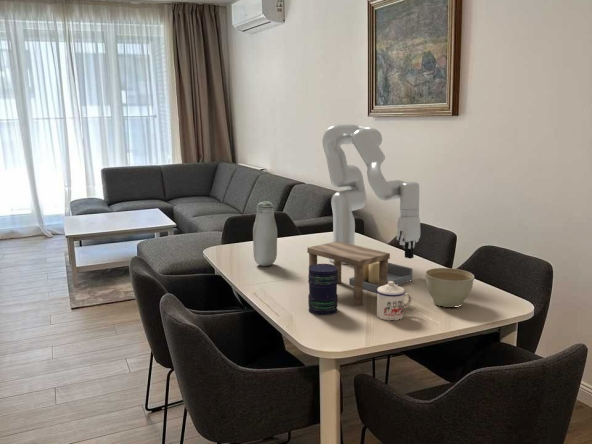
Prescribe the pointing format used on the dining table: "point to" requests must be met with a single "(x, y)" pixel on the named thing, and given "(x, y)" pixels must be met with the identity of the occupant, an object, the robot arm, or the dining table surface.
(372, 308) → the dining table surface
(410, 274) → the tray
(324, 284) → the storage jar
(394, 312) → the teacup with lid
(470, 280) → the planter bowl
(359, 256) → the low table
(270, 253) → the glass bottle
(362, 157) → the robot arm
